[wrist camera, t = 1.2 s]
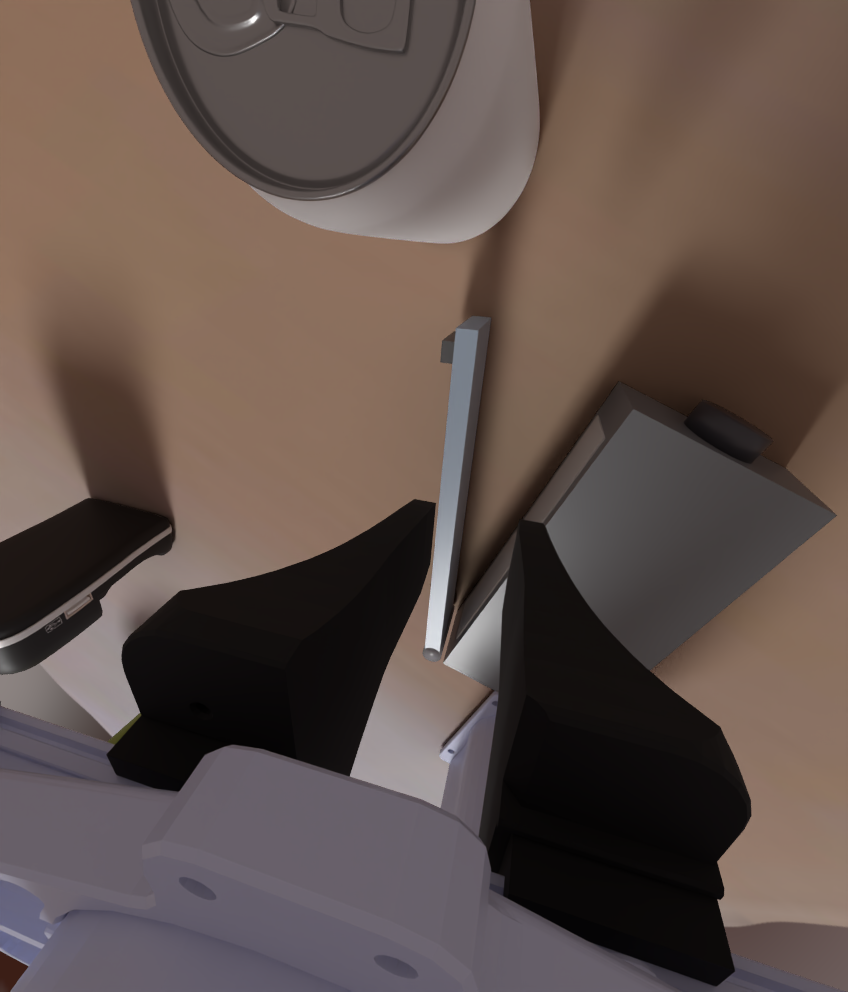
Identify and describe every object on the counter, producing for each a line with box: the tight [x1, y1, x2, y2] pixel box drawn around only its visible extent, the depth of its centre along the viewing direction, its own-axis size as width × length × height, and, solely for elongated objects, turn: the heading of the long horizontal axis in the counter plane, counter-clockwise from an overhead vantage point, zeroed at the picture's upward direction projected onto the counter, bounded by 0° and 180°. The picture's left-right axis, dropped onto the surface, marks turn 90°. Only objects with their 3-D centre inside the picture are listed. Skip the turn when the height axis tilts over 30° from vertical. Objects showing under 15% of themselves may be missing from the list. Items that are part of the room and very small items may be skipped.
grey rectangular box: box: [443, 382, 837, 693], centre depth 21 cm, size 17×8×4 cm, turn 156°
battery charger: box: [0, 498, 172, 675], centre depth 26 cm, size 7×4×11 cm, turn 84°
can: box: [131, 0, 540, 243], centre depth 11 cm, size 6×6×12 cm
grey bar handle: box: [423, 316, 491, 662], centre depth 21 cm, size 17×2×4 cm, turn 176°
